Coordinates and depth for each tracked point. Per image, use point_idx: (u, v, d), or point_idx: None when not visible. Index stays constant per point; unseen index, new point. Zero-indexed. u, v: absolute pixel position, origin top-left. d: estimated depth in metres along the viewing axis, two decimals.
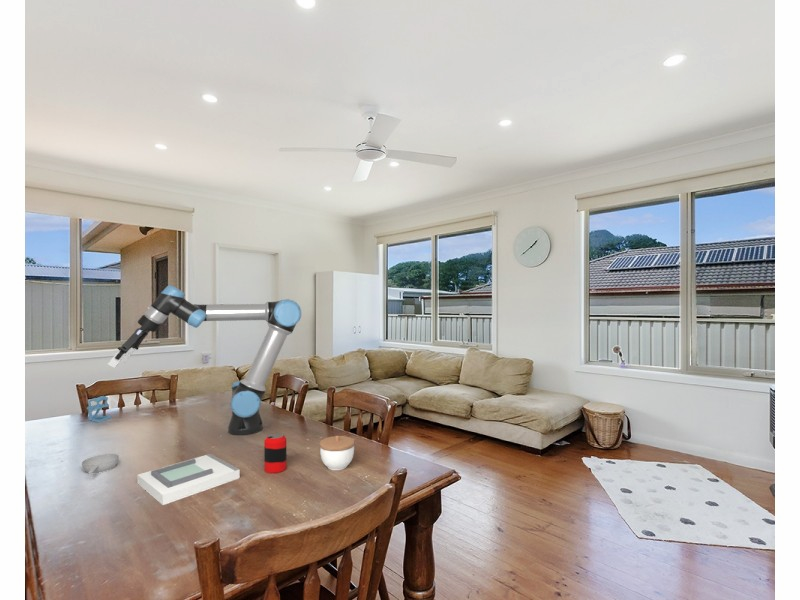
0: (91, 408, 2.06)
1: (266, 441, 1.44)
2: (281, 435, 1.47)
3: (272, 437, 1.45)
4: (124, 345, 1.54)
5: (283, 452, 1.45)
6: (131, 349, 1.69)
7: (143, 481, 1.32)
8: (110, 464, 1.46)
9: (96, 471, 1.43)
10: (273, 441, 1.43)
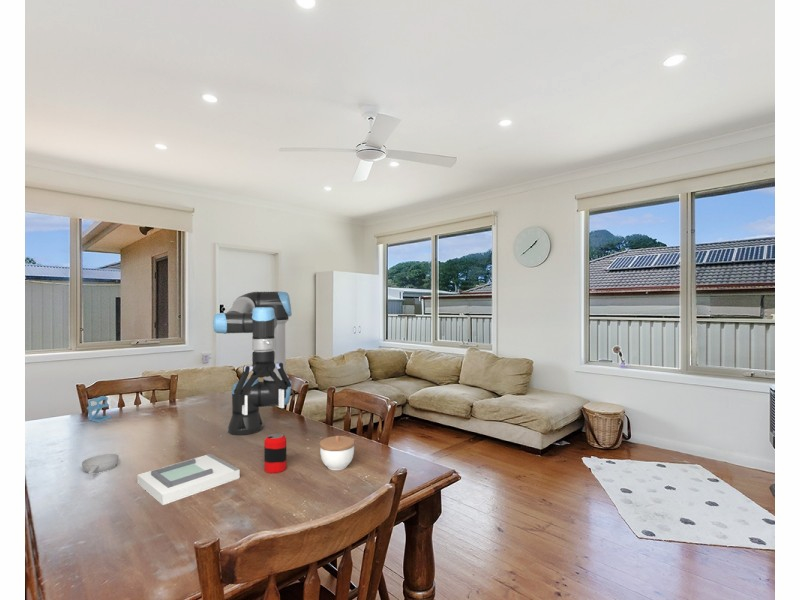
0: (91, 408, 2.06)
1: (266, 441, 1.44)
2: (281, 435, 1.47)
3: (272, 437, 1.45)
4: None
5: (283, 452, 1.45)
6: None
7: (143, 481, 1.32)
8: (110, 464, 1.46)
9: (96, 471, 1.43)
10: (273, 441, 1.43)
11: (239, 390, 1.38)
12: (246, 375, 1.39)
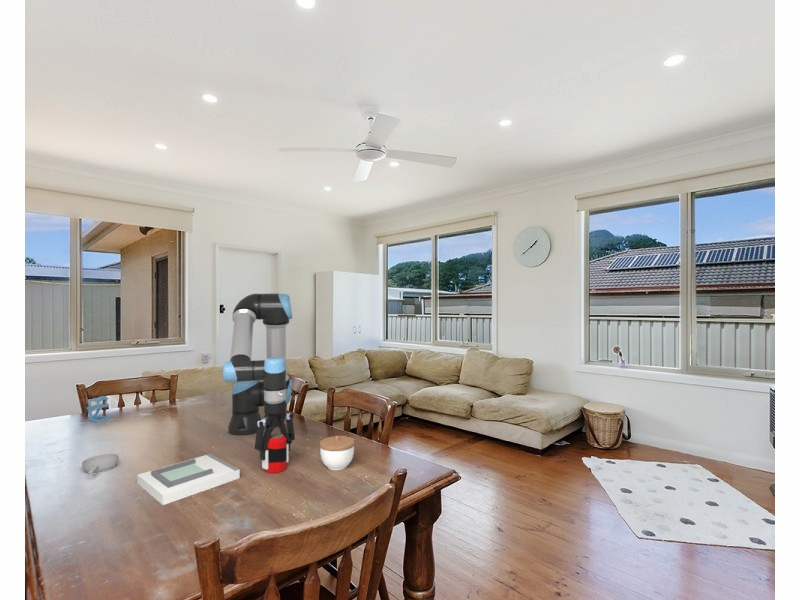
0: (91, 408, 2.06)
1: None
2: (281, 435, 1.47)
3: (272, 437, 1.45)
4: None
5: (283, 452, 1.45)
6: None
7: (143, 481, 1.32)
8: (110, 464, 1.46)
9: (96, 471, 1.43)
10: (273, 441, 1.43)
11: (260, 446, 1.41)
12: (262, 430, 1.41)
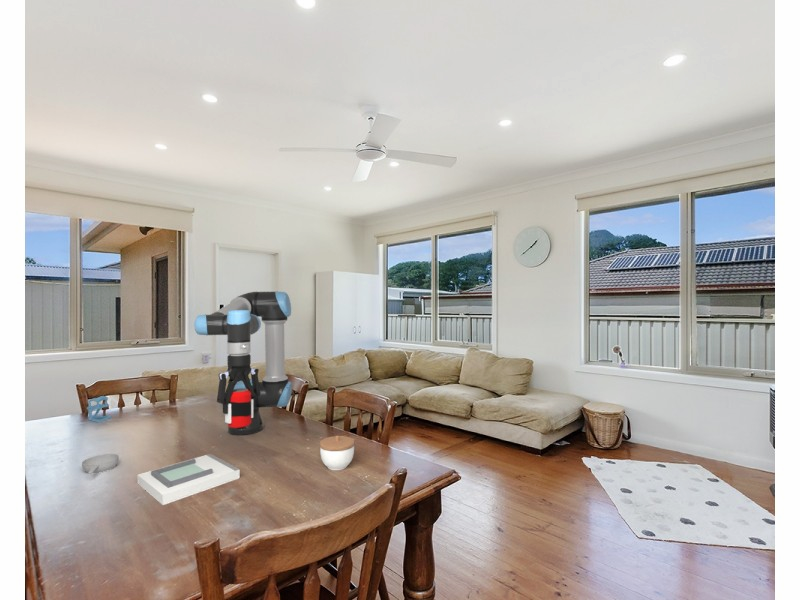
0: (91, 408, 2.06)
1: None
2: (245, 389, 1.43)
3: (236, 391, 1.40)
4: None
5: (247, 406, 1.41)
6: None
7: (143, 481, 1.32)
8: (110, 464, 1.46)
9: (96, 471, 1.43)
10: (236, 394, 1.39)
11: (222, 399, 1.36)
12: (224, 383, 1.37)
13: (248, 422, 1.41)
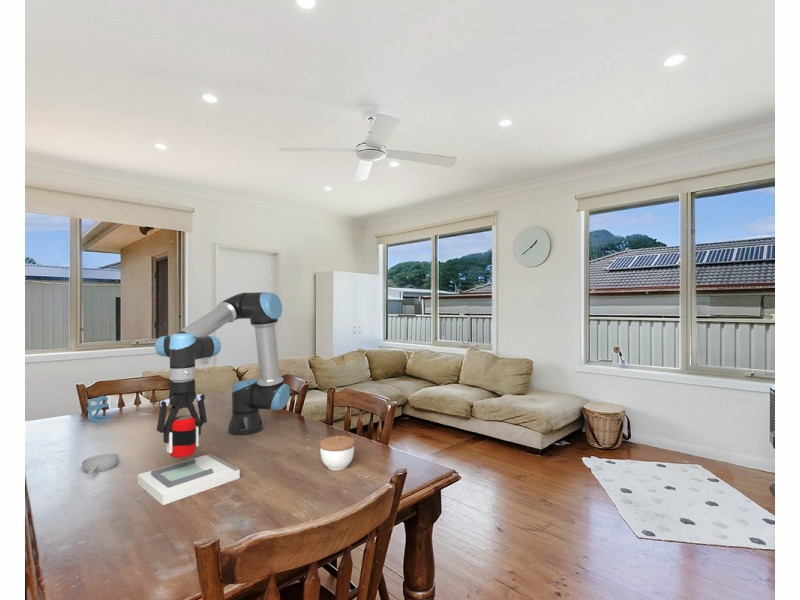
0: (91, 408, 2.06)
1: None
2: (189, 417, 1.36)
3: (178, 418, 1.34)
4: None
5: (190, 435, 1.34)
6: None
7: (143, 481, 1.32)
8: (110, 464, 1.46)
9: (96, 471, 1.43)
10: (178, 423, 1.32)
11: (162, 428, 1.30)
12: (164, 411, 1.30)
13: (191, 451, 1.34)
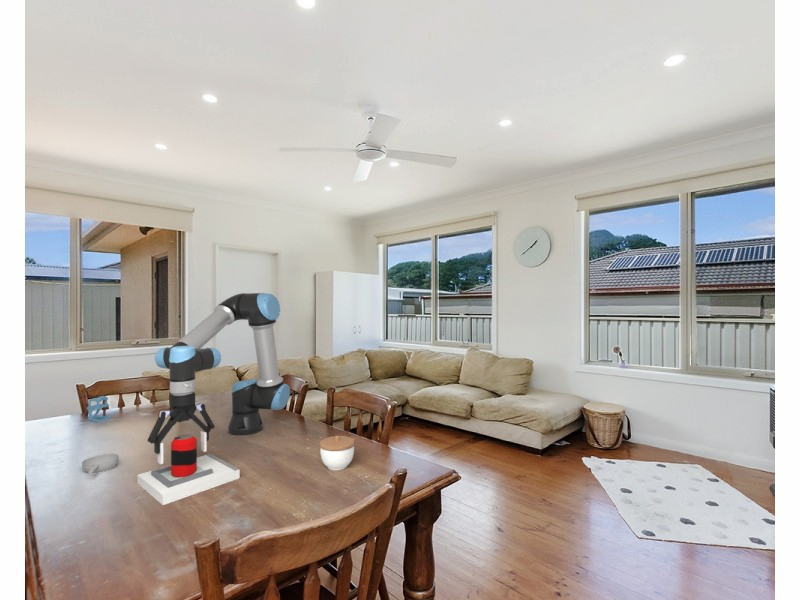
0: (91, 408, 2.06)
1: (172, 442, 1.34)
2: (190, 436, 1.37)
3: (179, 438, 1.34)
4: None
5: (191, 454, 1.34)
6: None
7: (143, 481, 1.32)
8: (110, 464, 1.46)
9: (96, 471, 1.43)
10: (179, 442, 1.33)
11: (153, 438, 1.28)
12: (162, 421, 1.30)
13: (192, 471, 1.35)
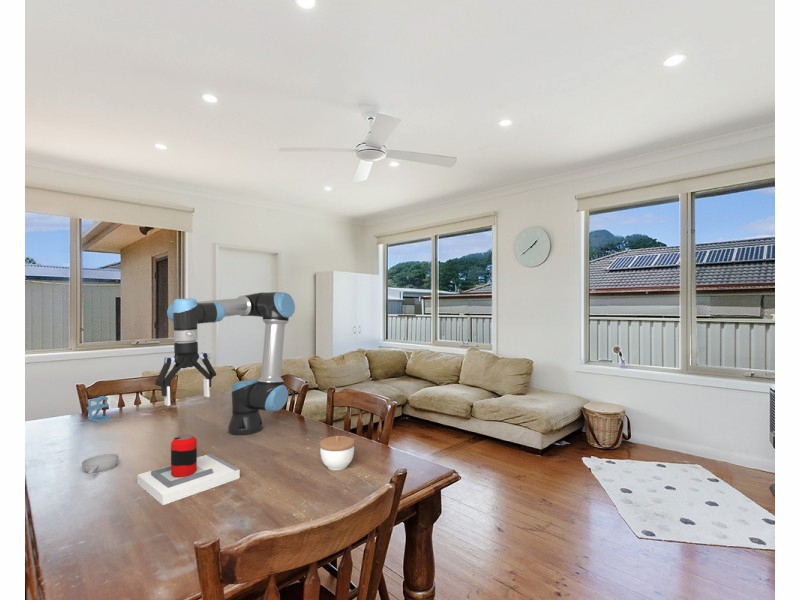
0: (91, 408, 2.06)
1: (172, 442, 1.33)
2: (190, 436, 1.36)
3: (179, 438, 1.34)
4: None
5: (191, 454, 1.34)
6: None
7: (143, 481, 1.32)
8: (110, 464, 1.46)
9: (96, 471, 1.43)
10: (179, 443, 1.33)
11: (160, 382, 1.38)
12: (168, 366, 1.40)
13: (192, 471, 1.35)
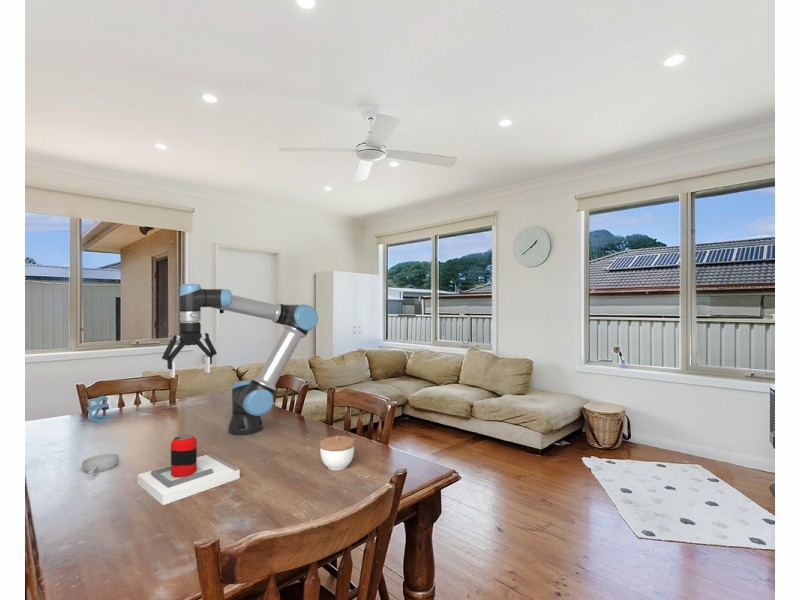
0: (91, 408, 2.06)
1: (172, 442, 1.34)
2: (190, 436, 1.36)
3: (179, 438, 1.34)
4: None
5: (191, 454, 1.34)
6: None
7: (143, 481, 1.32)
8: (110, 464, 1.46)
9: (96, 471, 1.43)
10: (178, 443, 1.33)
11: (167, 356, 1.57)
12: (173, 343, 1.59)
13: (192, 471, 1.35)
